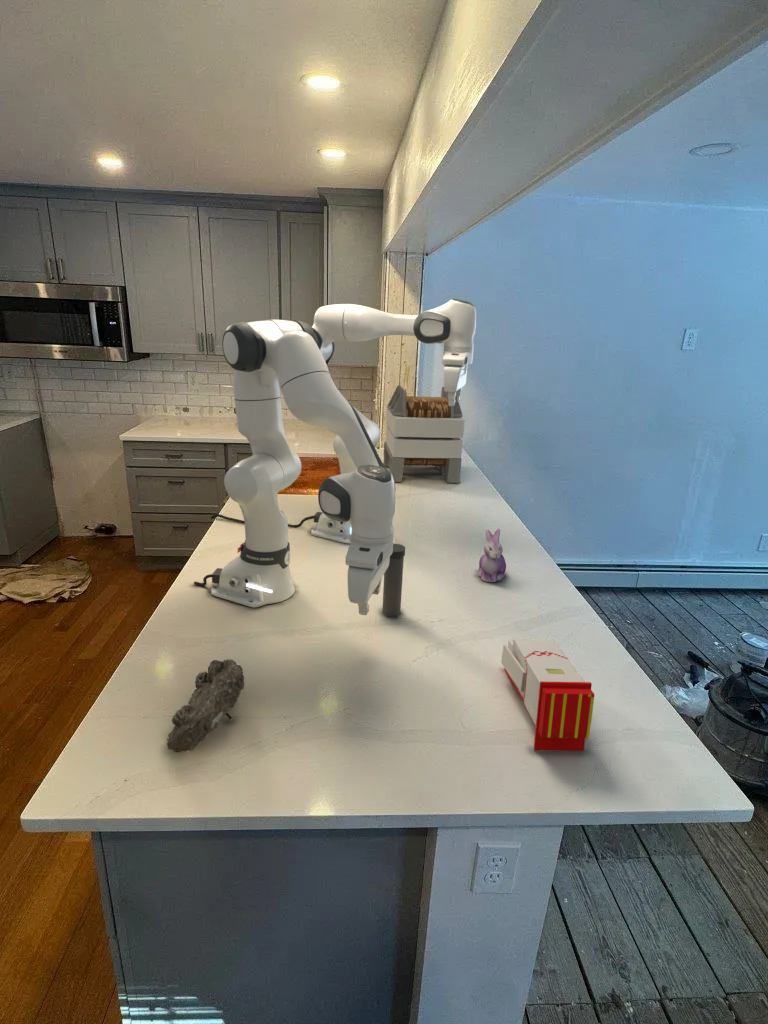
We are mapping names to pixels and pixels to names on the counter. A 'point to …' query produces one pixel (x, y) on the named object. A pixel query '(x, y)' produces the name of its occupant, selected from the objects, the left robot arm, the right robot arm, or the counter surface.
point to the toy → (550, 693)
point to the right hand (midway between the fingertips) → (454, 403)
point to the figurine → (492, 559)
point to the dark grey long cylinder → (393, 588)
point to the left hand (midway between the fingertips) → (369, 602)
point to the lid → (398, 551)
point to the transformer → (423, 434)
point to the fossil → (206, 705)
